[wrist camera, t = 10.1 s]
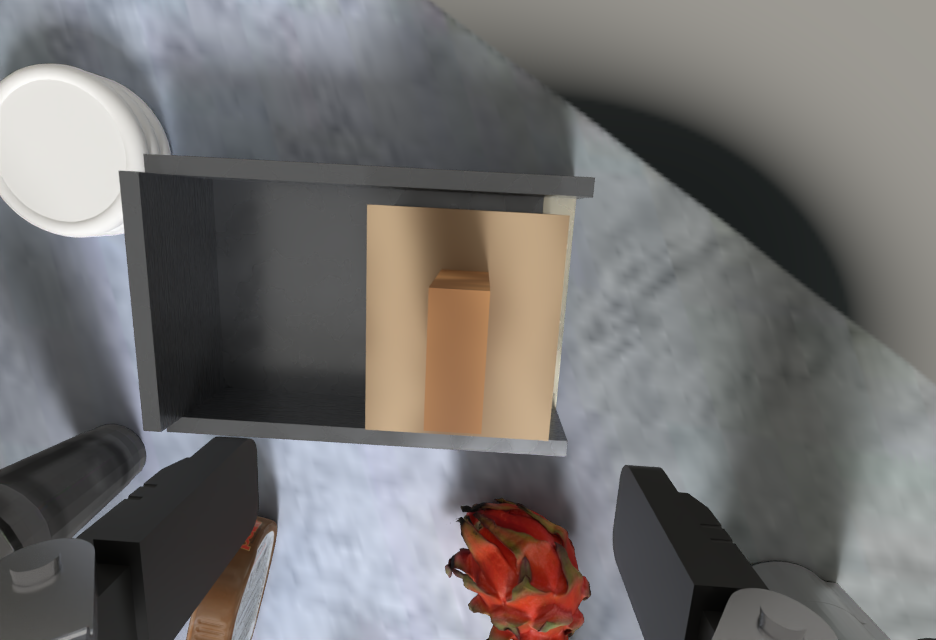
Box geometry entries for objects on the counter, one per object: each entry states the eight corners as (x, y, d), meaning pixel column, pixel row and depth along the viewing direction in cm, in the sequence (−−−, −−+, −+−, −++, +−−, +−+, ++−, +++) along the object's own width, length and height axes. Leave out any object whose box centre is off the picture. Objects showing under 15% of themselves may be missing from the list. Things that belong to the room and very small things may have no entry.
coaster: (168, 78, 32) (130, 62, 28) (183, 237, 34) (149, 240, 30) (14, 74, 32) (-43, 58, 28) (38, 232, 34) (-11, 235, 31)
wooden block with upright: (551, 213, 31) (597, 217, 19) (535, 394, 34) (566, 504, 21) (392, 205, 32) (330, 203, 19) (388, 385, 34) (333, 489, 21)
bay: (574, 183, 32) (604, 175, 24) (552, 415, 36) (571, 474, 28) (204, 163, 32) (116, 149, 25) (218, 395, 36) (145, 447, 28)
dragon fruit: (554, 590, 41) (469, 470, 40) (641, 587, 35) (541, 446, 34) (499, 688, 35) (398, 547, 34) (593, 706, 28) (471, 535, 28)
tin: (253, 488, 38) (189, 566, 29) (294, 499, 38) (241, 580, 30) (218, 646, 41) (152, 756, 33) (256, 656, 41) (199, 768, 33)
